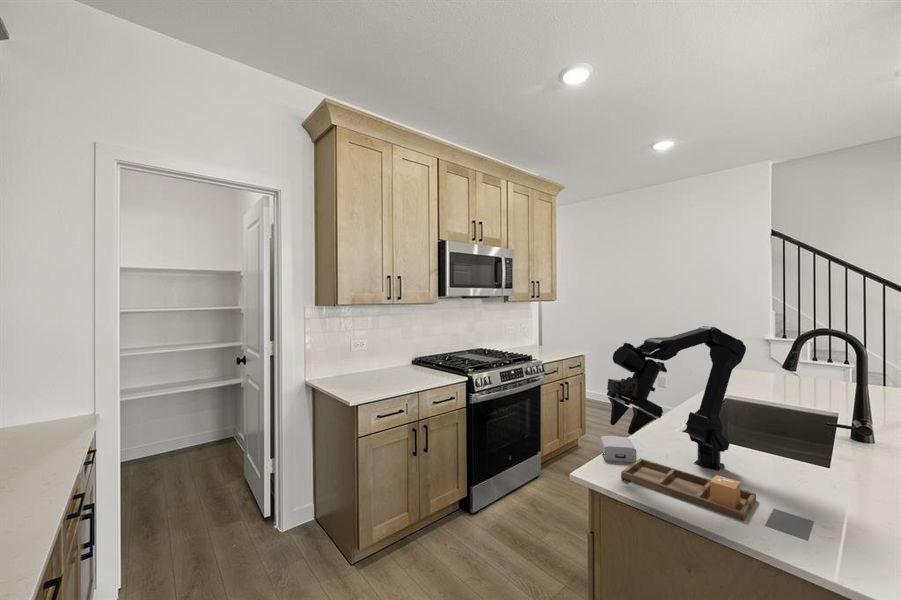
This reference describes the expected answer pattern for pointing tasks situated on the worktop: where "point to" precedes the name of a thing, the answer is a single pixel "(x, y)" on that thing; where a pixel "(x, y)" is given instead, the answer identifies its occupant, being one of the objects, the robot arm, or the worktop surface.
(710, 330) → the robot arm
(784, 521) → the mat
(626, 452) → the charger
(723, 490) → the letter cube
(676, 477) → the organiser
